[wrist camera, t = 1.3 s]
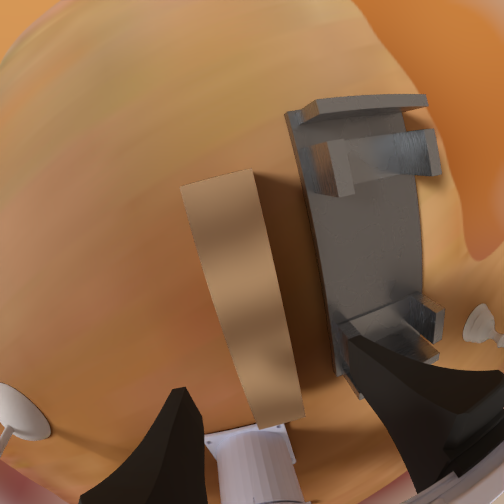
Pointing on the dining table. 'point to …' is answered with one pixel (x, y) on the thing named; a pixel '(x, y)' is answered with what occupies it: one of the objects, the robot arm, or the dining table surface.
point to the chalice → (482, 327)
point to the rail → (245, 292)
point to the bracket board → (368, 221)
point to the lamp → (20, 417)
